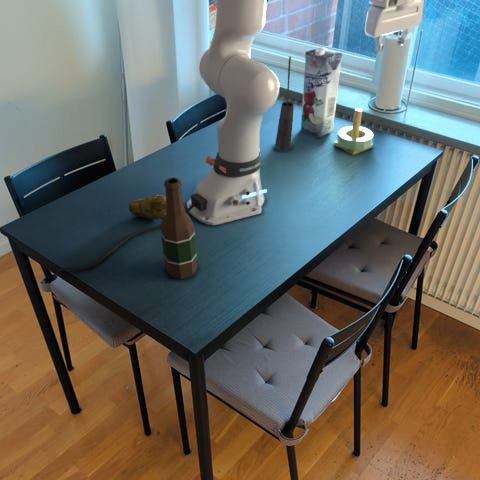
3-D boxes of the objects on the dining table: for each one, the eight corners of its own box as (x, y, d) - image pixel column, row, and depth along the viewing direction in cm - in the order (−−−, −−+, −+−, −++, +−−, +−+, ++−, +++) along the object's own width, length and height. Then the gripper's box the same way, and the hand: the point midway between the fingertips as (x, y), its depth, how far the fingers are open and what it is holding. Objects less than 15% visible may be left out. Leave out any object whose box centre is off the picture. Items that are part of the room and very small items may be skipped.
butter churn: (294, 157, 169) (300, 66, 150) (265, 153, 171) (268, 62, 152) (300, 145, 176) (307, 55, 156) (273, 141, 178) (276, 52, 158)
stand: (353, 155, 170) (358, 117, 162) (333, 144, 176) (338, 108, 167) (372, 147, 174) (379, 110, 165) (353, 137, 179) (358, 101, 171)
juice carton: (314, 122, 188) (322, 40, 170) (336, 132, 182) (346, 48, 164) (296, 129, 184) (302, 46, 166) (318, 139, 178) (326, 54, 160)
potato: (151, 204, 150) (147, 179, 144) (179, 222, 143) (176, 196, 137) (126, 215, 146) (121, 189, 140) (154, 235, 139) (150, 208, 133)
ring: (354, 153, 168) (355, 144, 166) (330, 140, 175) (331, 132, 173) (378, 144, 173) (380, 135, 171) (354, 132, 180) (356, 123, 178)
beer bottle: (198, 259, 131) (191, 171, 114) (197, 279, 125) (190, 189, 109) (167, 260, 131) (155, 172, 114) (164, 280, 125) (152, 190, 109)
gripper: (415, -14, 152) (405, 38, 161) (365, -3, 143) (358, 52, 153) (433, -10, 148) (422, 43, 158) (382, 2, 140) (373, 57, 149)
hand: (390, 47), depth 155 cm, fingers open, 8 cm apart
